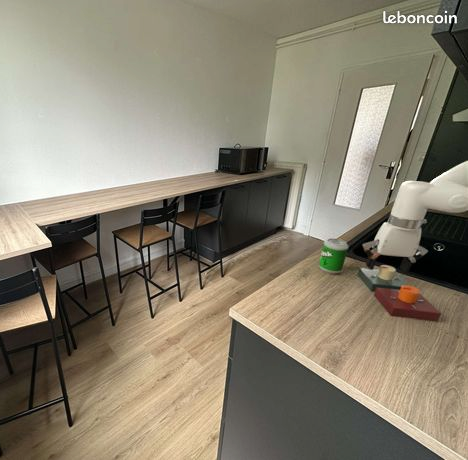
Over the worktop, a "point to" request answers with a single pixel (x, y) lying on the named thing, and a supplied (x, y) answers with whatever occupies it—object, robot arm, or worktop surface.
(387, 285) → the handle plate
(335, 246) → the soda can
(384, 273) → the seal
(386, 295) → the handle plate
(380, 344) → the worktop surface
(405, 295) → the seal
